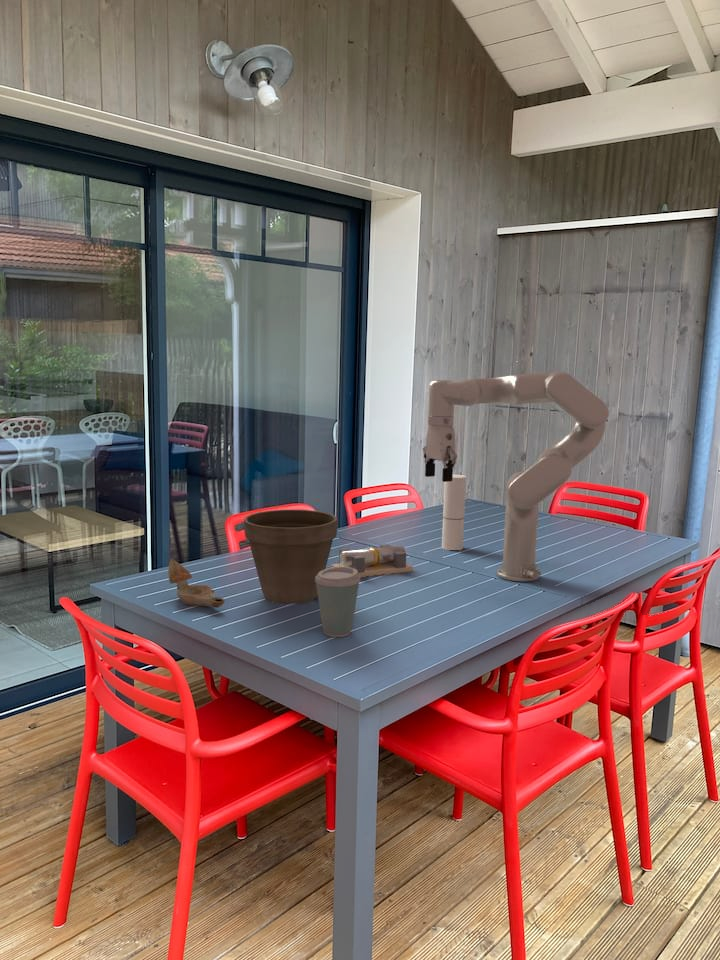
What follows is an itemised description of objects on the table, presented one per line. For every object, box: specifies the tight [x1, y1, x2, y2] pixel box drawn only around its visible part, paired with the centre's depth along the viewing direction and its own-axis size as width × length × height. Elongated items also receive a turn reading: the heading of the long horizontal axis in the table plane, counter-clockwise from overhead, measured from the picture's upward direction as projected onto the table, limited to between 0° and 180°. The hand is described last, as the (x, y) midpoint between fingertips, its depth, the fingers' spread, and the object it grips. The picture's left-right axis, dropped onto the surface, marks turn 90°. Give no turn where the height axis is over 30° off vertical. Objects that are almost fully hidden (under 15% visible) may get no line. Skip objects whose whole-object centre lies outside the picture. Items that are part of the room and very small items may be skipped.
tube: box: [340, 545, 407, 568], centre depth 234 cm, size 20×5×5 cm, turn 116°
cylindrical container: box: [441, 474, 467, 551], centre depth 261 cm, size 7×7×25 cm
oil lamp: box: [167, 558, 226, 609], centre depth 199 cm, size 9×21×10 cm, turn 49°
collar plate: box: [330, 544, 414, 578], centre depth 234 cm, size 11×22×6 cm, turn 116°
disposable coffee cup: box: [315, 566, 361, 638], centre depth 180 cm, size 11×11×15 cm
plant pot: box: [243, 509, 338, 605], centre depth 206 cm, size 25×25×22 cm
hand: (438, 478), depth 231 cm, fingers open, 9 cm apart
